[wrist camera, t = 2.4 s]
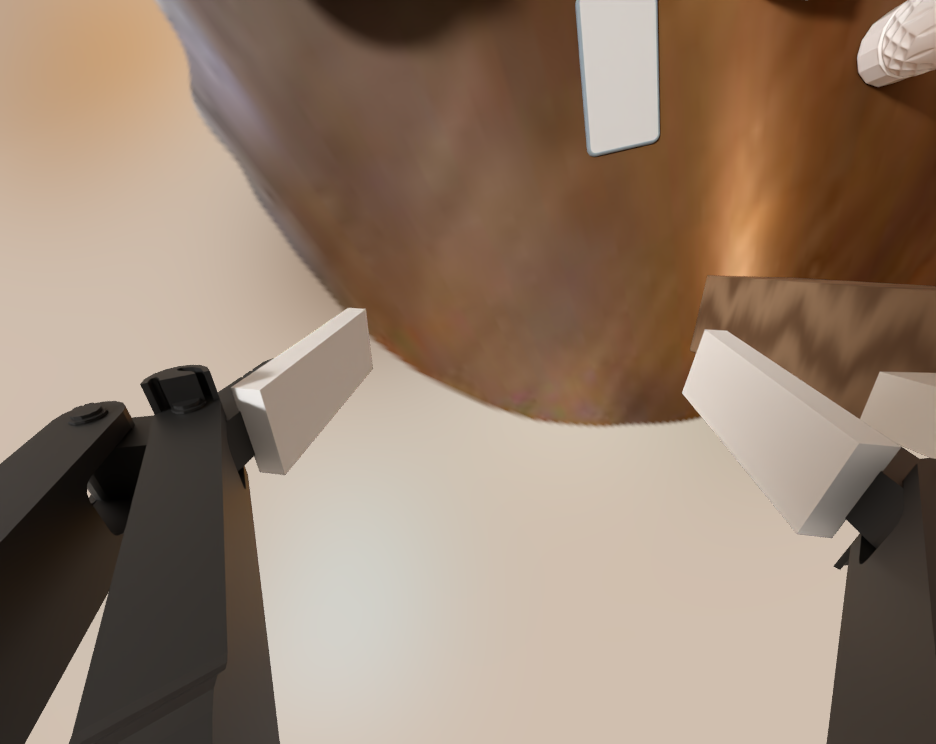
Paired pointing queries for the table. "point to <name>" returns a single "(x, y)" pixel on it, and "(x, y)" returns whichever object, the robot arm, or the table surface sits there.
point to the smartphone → (619, 73)
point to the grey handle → (904, 410)
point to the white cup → (899, 44)
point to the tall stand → (827, 329)
